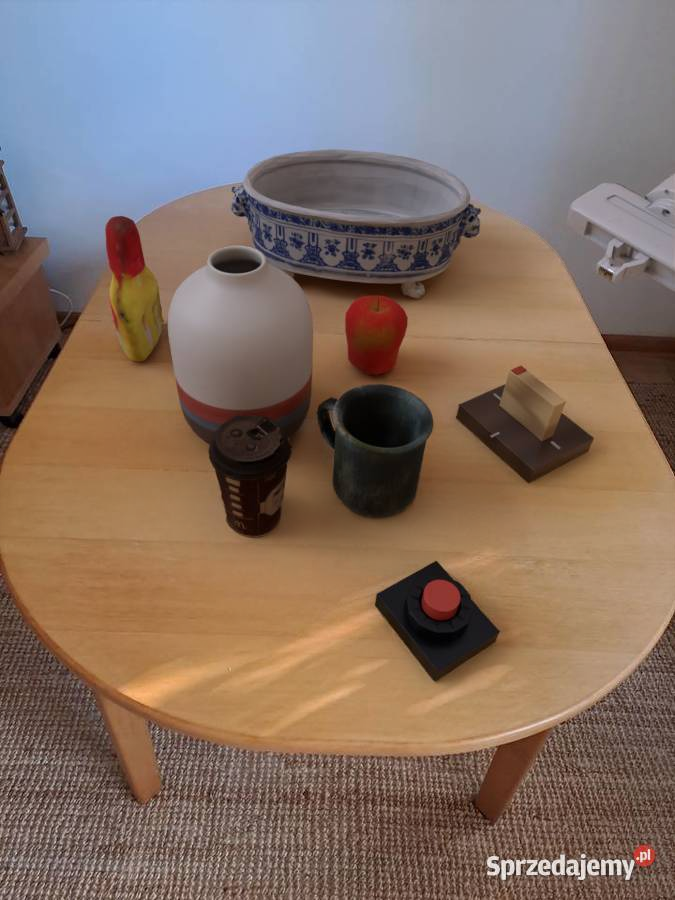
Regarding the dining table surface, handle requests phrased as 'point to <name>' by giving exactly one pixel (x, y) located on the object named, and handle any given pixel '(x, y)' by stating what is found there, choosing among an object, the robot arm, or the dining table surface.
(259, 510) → the coffee cup
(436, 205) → the decorative bowl
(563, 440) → the dark flat block
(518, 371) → the wooden block
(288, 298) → the vase
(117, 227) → the bottle
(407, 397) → the mug
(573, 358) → the dining table surface
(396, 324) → the apple
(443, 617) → the red button
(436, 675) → the button box
